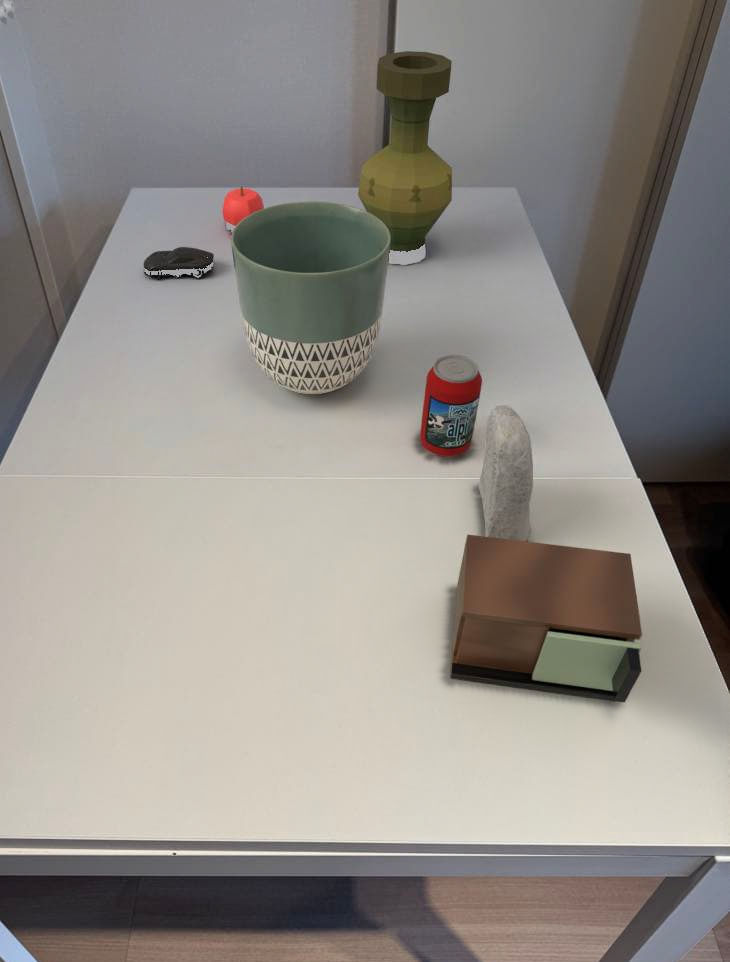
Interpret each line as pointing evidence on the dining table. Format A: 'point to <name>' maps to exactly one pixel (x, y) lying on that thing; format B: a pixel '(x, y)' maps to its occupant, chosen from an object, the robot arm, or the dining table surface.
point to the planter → (311, 291)
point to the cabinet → (536, 608)
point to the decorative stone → (506, 476)
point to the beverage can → (450, 405)
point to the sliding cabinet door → (589, 663)
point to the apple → (241, 205)
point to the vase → (408, 151)
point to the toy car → (177, 260)
